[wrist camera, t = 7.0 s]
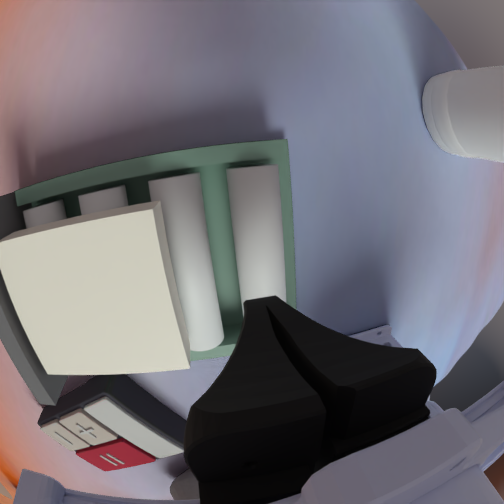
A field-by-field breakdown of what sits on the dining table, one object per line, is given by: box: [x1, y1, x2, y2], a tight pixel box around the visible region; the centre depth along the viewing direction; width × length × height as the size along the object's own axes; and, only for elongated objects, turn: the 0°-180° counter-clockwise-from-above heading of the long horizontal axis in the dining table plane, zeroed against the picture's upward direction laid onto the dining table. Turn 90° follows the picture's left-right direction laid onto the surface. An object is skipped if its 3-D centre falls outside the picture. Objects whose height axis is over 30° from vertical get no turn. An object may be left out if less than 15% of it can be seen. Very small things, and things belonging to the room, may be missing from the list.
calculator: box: [38, 374, 187, 471], centre depth 23 cm, size 11×4×15 cm
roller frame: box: [0, 139, 296, 406], centre depth 16 cm, size 20×14×7 cm
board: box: [0, 200, 190, 375], centre depth 14 cm, size 10×9×2 cm
